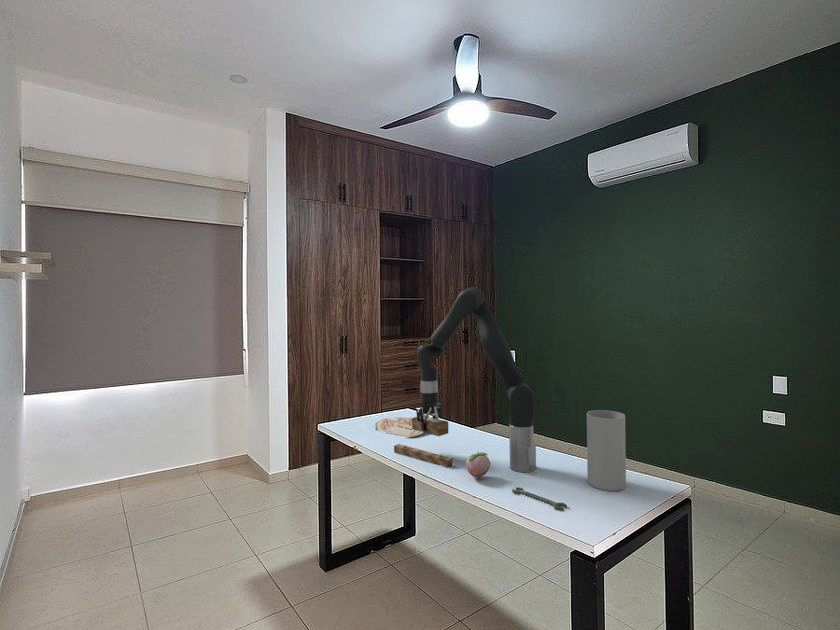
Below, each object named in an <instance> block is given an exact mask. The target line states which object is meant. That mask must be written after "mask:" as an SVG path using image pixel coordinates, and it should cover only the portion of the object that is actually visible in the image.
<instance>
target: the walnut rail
mask: <svg viewBox="0 0 840 630" xmlns="http://www.w3.org/2000/svg"><path fill="white" fill-rule="evenodd" d="M393 446H394V447H393V450H394V451H393V453H395V454H398V455H402V456H405V457H409V458H412V459H416V460H420V461H422V462H427V463H430V464H433V465H437V466H440V465H441V466H440V467H444V468H447V469H448V468H451V467H452V466H454V463H453V462H454V459H453V457H449V456H446V455H442V454H438V453H435V452H434V453H433V452H431V451H426V450H424V449H420V448H416V447H412V446H408V445H406V444H405V445H403V444H399V443H398V444H395V445H393Z"/></svg>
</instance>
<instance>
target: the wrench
mask: <svg viewBox="0 0 840 630" xmlns="http://www.w3.org/2000/svg"><path fill="white" fill-rule="evenodd" d="M515 489H516V490H515ZM515 489H514V488H512V489H511V492H512V494H513V493H514V494H513V495H521V494H522V495H521V496H523V495H525V496H524V497H526V496H527V497H526V498H529V497H530V498H529V499H531V498H533V499H532V500H534V499H535V501H537V500H538V501H537V502H539V501H541V502H540V503H542V502H544V503H543V504H545V503H546V504H545V505H547V504H549V505H548V506H550V505H551V506H550V507H552V508H553V507H554V508H553V509H554V510H555V511H559V510H560V511H559V512H562V511H563V512H564V511H565V509H566V510H567V509H568V505H567V503H564V502H557V501H553V500H551V499H549V498H547V497H546V498H545V497H544V496H539V495H537V494H534V493H532V492H530V491H527V490H525V489H524V488H523V487H519V486H518V487H515ZM563 507H564V508H563Z"/></svg>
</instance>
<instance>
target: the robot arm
mask: <svg viewBox="0 0 840 630" xmlns="http://www.w3.org/2000/svg"><path fill="white" fill-rule="evenodd" d="M490 308H491V307H490V306H489V303H488V300H487V298H486V296H485V294H484V292H483V291H482V290H481V289H480V288H478V287H476V286H471V287H468V288H466V289H464V290H462V291H461V292H460V293H459V294H458V295H457V297H456V299H455V300H454V303H453V305H452V307H451V308H450V310H449V311H448V313H447V314H446V317H445V318H444V319H443V320H442V321H441V322H440V324H439V325H438V327H437V328H436V329H435V331H433V333H432V335H431V336H430V342H431V343H429V344H428V343H427V344H422V345H420V346H418V348H417V350H416V359H417V361H418V362H417V363H418V366H419V371H420V388H419V389H420V391H419V392H420V402H421V405H420V407H416V408H415V412H416V413H415V414H416V417H417V421H419V422H421V426H422V428H421V429H422V431H424V432H423V433H425V432H426V431H427V423H426V421H427V418H428V417H430V416H431V418H435V419H440V418H442V414H443V403H440V402H438V401H439V384H438V369H437V367H436V366H433V365H432V363H431V361H434V360H437V359H438V358H439V357H441V355H442V354H443V352H444V350H445V346H446V345H447V344H448V342H449V341H450V340H452V337H453V336H454V335H455V333H456V332H457V329H458V327H459V326H460V324H461V323H462V322H463V321H464V320H465V319H466V318H467V317H469V315H471V314H472V315H473V317H474V319H475V322H476V324H477V325H478V331H479V333H478V334H479V339H480V342H481V346H482V348H483V351H484V352H485V354H486V357H487V358H488V359H489V361H490V363H491V364H492V366H493V368H494V369H495V371H496V372H497V373H498V375H499V376H500V378H501V380H502V383H503V386H504V388H505V391H506V394H507V397H508V399H509V412H510V413H509V417H508V420H509V421H508V424H509V425H508V427H509V430H508V431H509V434H508V435H509V436H508V437H509V468H510V469H511V470H512V471H514V472H520V473H527V474H528V473H530V472H532V471H534V470H535V469H537V452H536V451H537V445H536V444H535V443H534V438H535V437H534V421H535V420H534V419H535V394H534V391H533V390H532V388H531V387H530V386H529V385H528V384H527V383H526V381H525V379H523V377H522V375H521V373H520V371H519V370H518V368H517V365H516V362H515V359H514V356H513V353H512V351H511V349H510V346H509V344H508V342H507V340H506V339H505V336H504V334H503V333H502V331H501V329H500V327H499V324H498V323H497V321H496V319H495V318H494V315H493V313H492V311H491V309H490ZM424 417H425V418H424Z"/></svg>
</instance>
